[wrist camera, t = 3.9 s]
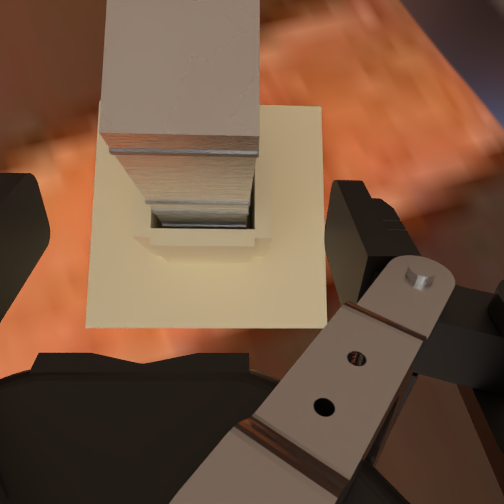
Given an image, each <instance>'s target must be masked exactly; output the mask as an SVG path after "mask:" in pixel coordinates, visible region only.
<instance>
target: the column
mask: <svg viewBox="0 0 504 504" xmlns="http://www.w3.org/2000/svg"><path fill="white" fill-rule="evenodd" d="M99 133H100V135H101V136H102V138H103V139H104V141H105V142H106V144H107V145H108V146H109V152H110V154H111V155H115V157H116V158H117V159H118V161H119V162H120V164H121V165H122V167H123V168H124V169H125V171H126V172H127V174H128V175H129V177H130V178H131V180H132V181H133V182H134V184H135V185H136V187H137V188H138V190H139V191H140V192H141V194H142V195H143V197H144V198H145V203H146V204H149V205H150V207H151V208H152V213H154V214H156V216H157V217H158V218H159V220H160V221H161V223H162V227H165V228H172V229H246V227H247V215H249V206H250V204H251V188H252V182H253V176H254V170H255V163H256V158H258V157H259V138H260V0H107V9H106V25H105V41H104V58H103V74H102V90H101V107H100V123H99Z"/></svg>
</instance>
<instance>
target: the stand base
mask: <svg viewBox="0 0 504 504" xmlns="http://www.w3.org/2000/svg"><path fill="white" fill-rule="evenodd" d="M100 107H101V101H99V115H98V131H97V148H96V164H95V180H94V196H93V212H92V229H91V245H90V261H89V277H88V293H87V310H86V326H85V328H324V327H325V326H326V325H327V303H326V265H325V245H324V233H325V226H324V188H323V150H322V112H321V106H285V105H260V138H259V157H258V158H256V163H255V170H254V176H253V182H252V188H251V204H250V206H249V215H247V227H246V229H172V228H165V227H162V223H161V221H160V220H159V218H158V217H157V216H156V214H154V213H152V208H151V207H150V205H149V204H146V203H145V198H144V197H143V195H142V194H141V192H140V191H139V190H138V188H137V187H136V185H135V184H134V182H133V181H132V180H131V178H130V177H129V175H128V174H127V172H126V171H125V169H124V168H123V167H122V165H121V164H120V162H119V161H118V159H117V158H116V157H115V155H111V154H110V152H109V146H108V145H107V144H106V142H105V141H104V139H103V138H102V136H101V135H100V133H99V123H100Z"/></svg>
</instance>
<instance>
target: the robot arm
mask: <svg viewBox="0 0 504 504" xmlns="http://www.w3.org/2000/svg"><path fill="white" fill-rule="evenodd" d="M49 239H50V226H49V222H48V218H47V215H46V211H45V207H44V204H43V200H42V197H41V193H40V190H39V186H38V183H37V180H36V178H35V177H34V175H32V174H30V173H0V322H1V321H2V319H3V317H4V316H5V314H6V312H7V311H8V309H9V308H10V306H11V304H12V303H13V301H14V300H15V298H16V296H17V295H18V293H19V291H20V290H21V288H22V287H23V285H24V283H25V282H26V280H27V278H28V277H29V275H30V274H31V272H32V270H33V269H34V267H35V266H36V264H37V262H38V261H39V259H40V257H41V256H42V254H43V253H44V251H45V249H46V248H47V246H48V243H49ZM324 245H325V251H326V255H327V258H328V262H329V265H330V269H331V272H332V276H333V279H334V283H335V286H336V290H337V293H338V297H339V300H340V304H341V308H340V309H339V310H338V311H337V312H336V314H335V315H334V316H333V317H332V319H331V320H330V321H329V322H328V324H327V325H326V326H325V327H324V328H323V330H322V331H321V332H320V333H319V335H318V336H317V337H316V338H315V339H314V341H313V342H312V343H311V344H310V346H309V347H308V348H307V349H306V351H305V352H304V353H303V354H302V355H301V357H300V358H299V359H298V360H297V362H296V363H295V364H294V365H293V366H292V368H291V369H290V370H289V371H288V373H287V374H286V375H285V376H284V378H283V379H282V380H280V379H278V378H276V377H273V376H271V375H269V374H266V373H263V372H260V371H257V370H253V369H249V353H196V354H191V355H186V356H181V357H176V358H171V359H166V360H161V361H156V362H151V363H145V364H140V363H135V362H130V361H126V360H121V359H117V358H112V357H108V356H103V355H99V354H94V353H39V354H38V356H37V358H36V360H35V362H34V364H33V366H32V368H31V370H27V371H23V372H19V373H16V374H12V375H10V376H7V377H4V378H2V379H0V504H410V503H409V502H408V501H407V500H406V499H405V498H404V497H403V496H402V495H401V494H400V493H399V492H398V491H397V490H396V489H395V488H394V487H393V486H392V485H391V484H390V483H389V482H388V481H387V480H386V479H385V478H384V477H383V476H382V475H381V474H380V473H379V472H378V471H377V470H376V469H375V468H374V467H375V465H376V463H377V461H378V459H379V457H380V454H381V452H382V450H383V448H384V445H385V443H386V441H387V439H388V436H389V434H390V432H391V430H392V428H393V426H394V424H395V422H396V420H397V418H398V416H399V414H400V412H401V410H402V408H403V406H404V404H405V402H406V400H407V398H408V396H409V394H410V392H411V390H412V388H413V386H414V384H415V382H416V380H417V378H418V376H419V374H422V375H426V376H429V377H433V378H437V379H441V380H444V381H448V382H452V383H456V384H457V387H458V389H459V391H460V394H461V396H462V398H463V401H464V403H465V405H466V408H467V410H468V412H469V415H470V417H471V420H472V422H473V424H474V427H475V429H476V431H477V434H478V436H479V438H480V441H481V443H482V445H483V448H484V450H485V453H486V455H487V457H488V460H489V462H490V464H491V467H492V469H493V471H494V474H495V476H496V478H497V481H498V483H499V486H500V488H501V490H502V493H503V495H504V280H503V281H501V282H500V283H499V285H498V287H497V289H496V291H495V293H494V294H493V293H488V292H483V291H479V290H474V289H469V288H465V287H461V286H458V285H455V279H454V277H453V275H452V273H451V272H450V271H449V270H448V269H447V268H446V267H444V266H443V265H441V264H440V263H438V262H436V261H433V260H431V259H428V258H425V257H422V256H421V254H420V253H419V251H418V249H417V248H416V246H415V244H414V243H413V241H412V239H411V237H410V236H409V234H408V232H407V231H405V227H404V225H403V224H402V222H400V219H399V217H398V215H397V213H396V212H395V210H394V208H392V207H391V206H390V205H388V204H387V203H386V202H384V201H383V200H382V199H376V198H371V196H370V194H369V192H368V190H367V189H366V187H365V185H364V183H363V181H354V180H334V182H333V184H332V188H331V194H330V200H329V206H328V212H327V219H326V225H325V233H324Z"/></svg>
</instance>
